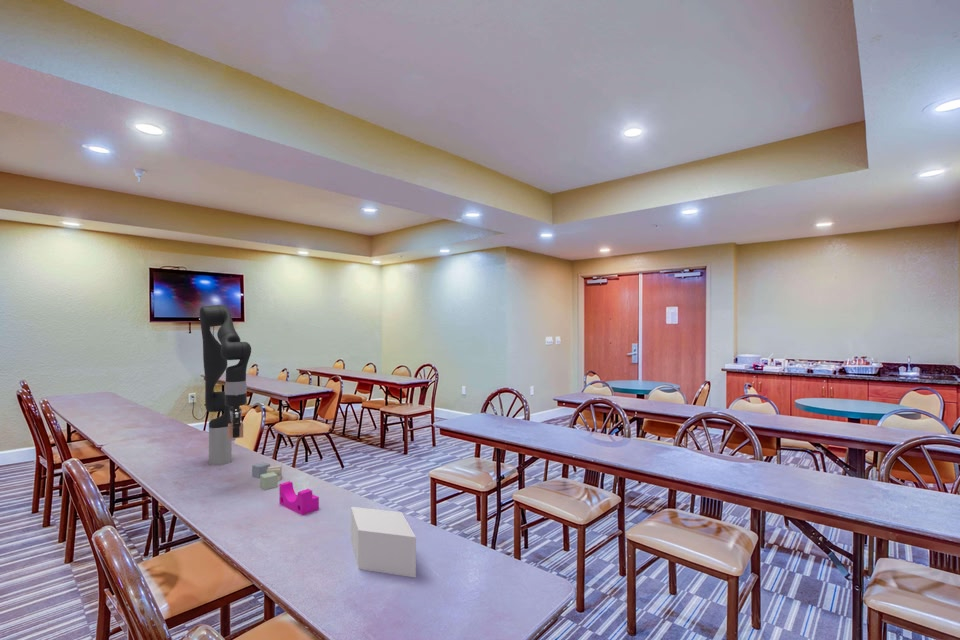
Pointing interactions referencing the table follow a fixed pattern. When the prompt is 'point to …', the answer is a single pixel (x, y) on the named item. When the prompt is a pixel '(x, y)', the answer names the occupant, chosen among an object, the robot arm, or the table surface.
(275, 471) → the cube cream
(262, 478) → the cube sage
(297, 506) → the toy block
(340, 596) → the table surface
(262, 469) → the cube slate
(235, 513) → the table surface
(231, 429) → the cube terracotta
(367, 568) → the white rectangular block
